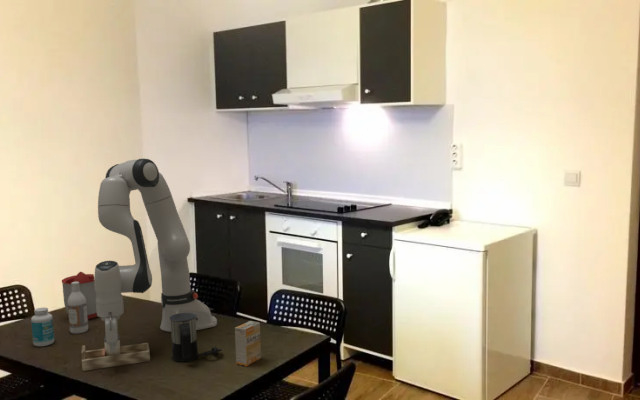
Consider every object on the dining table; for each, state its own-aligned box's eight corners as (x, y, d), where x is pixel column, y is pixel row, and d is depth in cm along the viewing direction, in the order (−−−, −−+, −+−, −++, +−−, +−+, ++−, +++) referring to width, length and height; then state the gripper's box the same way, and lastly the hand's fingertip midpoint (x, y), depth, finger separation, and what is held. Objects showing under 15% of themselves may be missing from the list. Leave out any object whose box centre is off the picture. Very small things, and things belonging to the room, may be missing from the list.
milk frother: (167, 356, 219) (165, 315, 217) (208, 345, 228) (206, 306, 226) (184, 368, 207) (181, 326, 205) (226, 357, 216) (224, 316, 215)
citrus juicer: (114, 314, 268) (110, 269, 265) (76, 325, 255) (72, 278, 252) (95, 308, 278) (92, 264, 275) (58, 318, 265) (54, 272, 263)
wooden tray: (148, 352, 223) (147, 336, 222) (150, 361, 215) (149, 344, 214) (83, 361, 216) (82, 344, 216) (82, 370, 208) (81, 353, 207)
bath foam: (66, 333, 246) (61, 284, 243) (77, 327, 252) (73, 279, 250) (80, 334, 244) (76, 285, 241) (92, 328, 250) (88, 280, 248)
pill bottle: (46, 347, 230) (43, 312, 229) (29, 346, 232) (25, 311, 230) (58, 340, 238) (55, 306, 236) (41, 339, 239) (38, 305, 237)
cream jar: (120, 352, 218) (119, 333, 217) (121, 357, 213) (119, 338, 212) (105, 354, 217) (103, 335, 216) (105, 360, 212) (103, 340, 211)
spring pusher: (105, 356, 217) (105, 347, 217) (105, 362, 211) (104, 354, 211) (102, 356, 217) (102, 348, 217) (102, 363, 211) (101, 354, 211)
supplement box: (247, 367, 207) (245, 329, 206) (235, 364, 210) (234, 327, 208) (262, 358, 214) (260, 322, 213) (251, 356, 217) (249, 320, 215)
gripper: (120, 316, 204) (123, 356, 206) (119, 299, 223) (121, 336, 225) (99, 319, 202) (103, 359, 204) (100, 302, 221) (103, 339, 223)
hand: (113, 347), depth 215 cm, fingers closed on cream jar, 5 cm apart
